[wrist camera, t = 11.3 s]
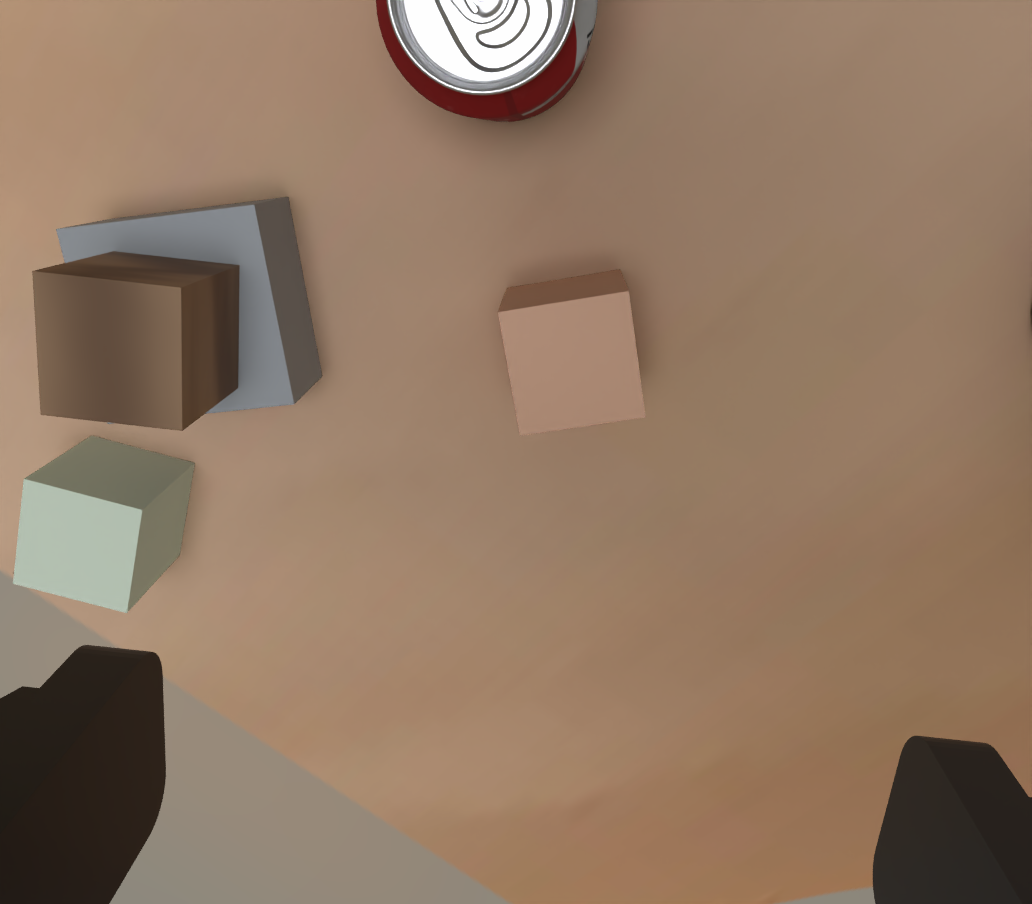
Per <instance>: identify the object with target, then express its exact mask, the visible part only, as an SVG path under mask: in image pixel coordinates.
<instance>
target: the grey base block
mask: <svg viewBox="0 0 1032 904" xmlns="http://www.w3.org/2000/svg"><path fill="white" fill-rule="evenodd" d="M56 231H57V235H58V238H59V242H60V246H61V250H62V253H63V257H64V261H65V263H67V262H71V261H75V260H80V259H84V258H88V257H92V256H96V255H100V254H104V253H108V252H112V251H117V252H126V253H135V254H144V255H153V256H162V257H171V258H180V259H189V260H198V261H207V262H216V263H225V264H234V265H240V270H239V361H238V389H236V390H235V391H234V392H232V393H231V394H230V395H229V396H227V397H226V398H225V399H223V400H222V401H221V402H219V403H218V404H217V405H215V406H214V407H213V408H211V409H210V410H209V411H208V412H206V413H205V414H207V413H216V412H226V411H235V410H245V409H254V408H264V407H273V406H282V405H292V404H295V403H296V402H297V401H298V400H299V399H300V398H301V397H302V396H303V395H304V394H305V393H306V392H307V391H308V390H309V389H310V388H311V387H312V386H313V385H314V384H315V383H316V382H317V381H318V380H319V379H320V378H321V377H322V372H321V367H320V362H319V356H318V351H317V346H316V341H315V335H314V330H313V325H312V319H311V314H310V309H309V304H308V298H307V293H306V288H305V283H304V277H303V272H302V267H301V261H300V256H299V251H298V246H297V240H296V235H295V230H294V225H293V219H292V214H291V209H290V203H289V198H288V197H283V198H275V199H267V200H259V201H251V202H243V203H235V204H227V205H219V206H211V207H202V208H194V209H186V210H178V211H170V212H162V213H154V214H146V215H138V216H130V217H122V218H114V219H108V220H102V221H97V222H92V223H86V224H81V225H76V226H70V227H65V228H60V229H56ZM107 423H108V424H112V423H109V422H107Z"/></svg>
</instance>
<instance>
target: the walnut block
mask: <svg viewBox="0 0 1032 904" xmlns="http://www.w3.org/2000/svg"><path fill="white" fill-rule="evenodd" d="M239 270H240V265H234V264H225V263H216V262H207V261H198V260H189V259H180V258H171V257H162V256H153V255H144V254H135V253H126V252H117V251H112V252H108V253H104V254H100V255H96V256H92V257H88V258H84V259H80V260H75V261H71V262H67V263H63V264H59V265H55V266H51V267H47V268H43V269H39V270H35V271H32V273H33V290H34V307H35V325H36V342H37V359H38V377H39V394H40V411H41V415H48V416H56V417H65V418H74V419H83V420H92V421H100V422H109V423H118V424H127V425H136V426H144V427H153V428H162V429H171V430H180V431H183V430H184V429H185V428H187V427H188V426H189V425H190V424H192V423H193V422H194V421H196V420H197V419H198V418H200V417H201V416H202V415H204V414H205V413H206V412H208V411H209V410H210V409H211V408H213V407H214V406H215V405H217V404H218V403H219V402H221V401H222V400H223V399H225V398H226V397H227V396H229V395H230V394H231V393H232V392H234V391H235V390H236V389H238V361H239Z"/></svg>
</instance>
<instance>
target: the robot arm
mask: <svg viewBox="0 0 1032 904" xmlns="http://www.w3.org/2000/svg"><path fill="white" fill-rule="evenodd" d="M165 777H166V763H165V734H164V703H163V674H162V666H161V661H160V659H159V657H158V655H157V654H156V653H154V652H148V651H139V650H129V649H120V648H110V647H101V646H91V645H84V646H81V647H79V648H78V649H77V650H75V651H74V652H73V653H72V654H71V655H70V657H69V658H68V659H67V660H66V661H65V662H64V663H63V664H62V665H61V666H60V667H59V668H58V669H57V670H56V671H55V672H54V674H53V675H52V676H51V677H50V678H49V679H48V680H47V681H46V682H45V683H44V684H43V685H42V686H41V687H40V688H32V687H21V688H19V689H17V690H15V691H14V692H11V693H10V694H8V695H6V696H4V697H2V698H0V904H109V903H110V901H111V900H112V898H113V897H114V895H115V893H116V891H117V890H118V888H119V886H120V885H121V883H122V881H123V880H124V878H125V876H126V875H127V873H128V871H129V869H130V868H131V866H132V864H133V863H134V861H135V859H136V858H137V856H138V854H139V853H140V851H141V849H142V847H143V846H144V844H145V842H146V841H147V839H148V837H149V835H150V834H151V832H152V830H153V827H154V825H155V822H156V819H157V817H158V814H159V811H160V807H161V803H162V799H163V794H164V787H165ZM873 890H874V898H875V903H876V904H1032V798H1031V797H1028V795H1027V794H1026V792H1025V791H1024V789H1023V788H1022V787H1021V785H1020V784H1019V782H1018V781H1017V779H1016V778H1015V777H1014V775H1013V774H1012V772H1011V771H1010V769H1009V768H1008V767H1007V765H1006V764H1005V762H1004V761H1003V759H1002V758H1001V757H1000V755H999V754H998V752H997V751H996V750H995V749H994V748H993V747H992V746H991V745H989V744H987V743H980V742H971V741H961V740H952V739H943V738H933V737H924V736H913V737H911V738H910V739H908V741H907V742H906V743H905V745H904V747H903V749H902V752H901V756H900V759H899V763H898V767H897V770H896V774H895V778H894V782H893V786H892V789H891V793H890V797H889V801H888V805H887V808H886V812H885V816H884V820H883V823H882V827H881V831H880V835H879V839H878V842H877V846H876V850H875V855H874V862H873Z"/></svg>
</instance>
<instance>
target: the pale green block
mask: <svg viewBox="0 0 1032 904" xmlns="http://www.w3.org/2000/svg"><path fill="white" fill-rule="evenodd" d="M194 466H195V463H193V462H189V461H186V460H182V459H178V458H174V457H171V456H167V455H163V454H159V453H156V452H152V451H148V450H144V449H141V448H137V447H133V446H129V445H126V444H122V443H118V442H114V441H111V440H107V439H103V438H99V437H95V436H90V437H89V438H87V439H85V440H84V441H82V442H81V443H79V444H78V445H76V446H74V447H73V448H71V449H70V450H68V451H67V452H65V453H64V454H62V455H60V456H59V457H57V458H56V459H54V460H53V461H51V462H49V463H48V464H46V465H45V466H43V467H42V468H40V469H39V470H37V471H35V472H34V473H32V474H31V475H29V476H28V477H26V478H24V483H23V492H22V502H21V512H20V521H19V531H18V541H17V550H16V560H15V570H14V580H13V584H17V585H21V586H24V587H28V588H32V589H36V590H40V591H44V592H47V593H51V594H55V595H59V596H63V597H67V598H71V599H75V600H78V601H82V602H86V603H90V604H94V605H98V606H102V607H105V608H109V609H113V610H117V611H121V612H125V613H127V612H128V611H129V610H130V609H131V608H132V607H133V606H134V605H135V604H136V603H137V601H138V600H139V599H140V598H141V597H142V596H143V595H144V594H145V593H146V592H147V590H148V589H149V588H150V587H151V586H152V585H153V584H154V583H155V582H156V581H157V579H158V578H159V577H160V576H161V575H162V574H163V573H164V572H165V571H166V570H167V569H168V567H169V566H170V565H171V564H172V563H173V562H174V561H175V560H176V559H177V558H178V556H179V555H180V550H181V544H182V538H183V532H184V526H185V520H186V514H187V508H188V502H189V496H190V490H191V484H192V478H193V472H194Z"/></svg>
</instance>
